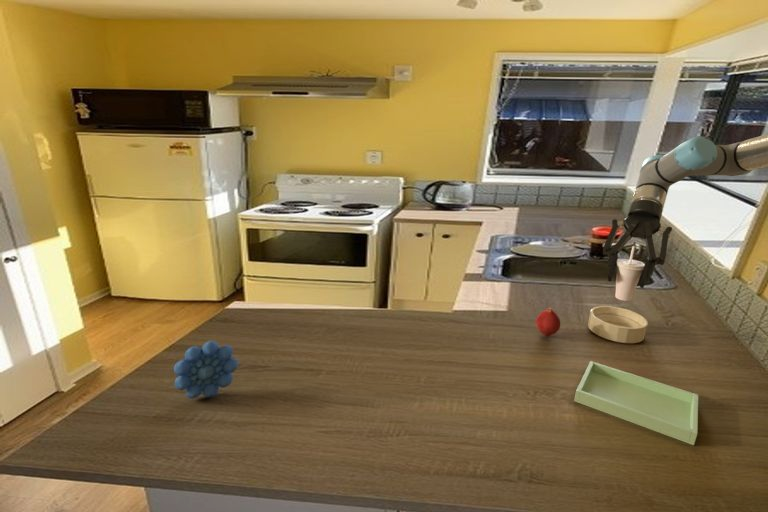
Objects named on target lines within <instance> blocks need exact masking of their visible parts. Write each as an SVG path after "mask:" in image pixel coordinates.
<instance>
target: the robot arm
mask: <svg viewBox="0 0 768 512" xmlns="http://www.w3.org/2000/svg"><path fill="white" fill-rule="evenodd" d="M764 168H768V133H766V134H762V135H759V136H756V137H752V138H748V139H745V140H742V141H739V142H735V143H731V144H715V143H714V142H713V141H712V140H711V139H709V138H706V137H705V136H694V137H691V138H690V139H688V140H686V141H684V142H682V143H680V144H679V145H677V146H676V147H675V148H673V149H672V150H669V152H667V153H666V154H655V155H650V156H649V157H647V158H645V160H644V161H643V163H642V165H641V167H640V170H639V172H638V173H639V174H638V178H637V181H636V186H635V189H634V192H633V195H632V198H631V202H630V205H629V209H628V212H627V216H626V218H624V219H623V220H618V219H616V218H615V219H612V220H611V229H610V231H609V234H608V236H607V238H606V241H605V242H604V245H603V247H602V254H603V256H608V258H607V261H606V268H607V269H609V272H608V275H607V282H612V280H613V277H614V274H615V270H616V268H617V265H616V262H617V260H618V259H619V253H620V252H621V251H622V249H624V247H625V246H626V244H628V242H629V241H631V239H632V238H639V239H642V240H644V242H645V246H646V251H647V257H648V259H646V261H645V263H644V264H645V268H644V270H643V271H642V274H641V278H640V279H641V280H640V283H639V288H640V289H644V287H645V284H646V280H647V277H648V276H649V277H652V276H653V275H654V270H655V268H656V266H657V265H660V266H664V265H665V262H666V258H667V249H668V242H669V239H670V237H671V236H672V231H673V228H672V226H667V227H665V226H662V224H661V220H662V216H663V211H664V207H665V204H666V200H667V196H668V192H669V189H670V187H671V186H672V185H674V184H676V183H678V182H680V181H682V180H684V179H686V178H687V177H690V176H727V177H736V176H744V175H748V174H750V173H751V172H753V171H754V170H759V169H764ZM622 227H623V228H624V229H625V231H624V234H622V236H621V237H620V238H619V239H618V241H617V242H616V243H615V244H614V246H613V243H614V241H615V239H616V236H617V235H618V231H619V230H621V228H622ZM658 232H660V233H659V235H660V236H661V237H662V238H661V243H660V250H659V256H657V255H656V250H655V245H654V239H653V235H655V234H656V233H658ZM612 246H613V247H612Z"/></svg>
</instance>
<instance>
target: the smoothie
mask: <svg viewBox="0 0 768 512" xmlns="http://www.w3.org/2000/svg"><path fill="white" fill-rule="evenodd" d="M635 248H636V245H632V246H631V252H630V256H629V258H618V260H617V262H616V275H615V277H616V278H615V295H614V296H615V297H614V298H616V299H617V300H620V301H625V302H631V301H632V300H633V297H634V295H635V292H636V289H637V287H638V283H639V282H640V279H641V277H642V274H643V272H644V268H645V264H646V263H644V262H643V261H640V260H637V259H633V258H634V253H635Z"/></svg>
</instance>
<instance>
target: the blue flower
mask: <svg viewBox="0 0 768 512" xmlns="http://www.w3.org/2000/svg"><path fill="white" fill-rule="evenodd" d="M233 353H234V349H233V347H232V346H231V345H228V344H225V345H221V346H219V343H218V342H217V341H216V340H208V341H206V342H205V343H204V344H203V345H202V347H201V348H200V347H199V346H198V345H194V346H191V347H189V348H188V349H186V351H185V353H184V358H183V359H181V360H178V361H177V362H176V363H175V364H174V366H173V372H174V374H175V375H176V376H177V377H176V378H175V380H174V388H175V389H176V390H179V391H184V390H185V396H186V397H187V398H188V399H193V400H194V399H197V398H198V397H200V396H201V394H202V395H203V396H204V397H205V398H213V397H215V396H217V393H218V392H219V390H220V388H227V387H229V386H230V385H231V384H232V382H233V379H234V377H233V376H234V375H233V373H234V372H236V370H237V369H238V368H239V360H238V359H237V358H235V357H232V356H233Z"/></svg>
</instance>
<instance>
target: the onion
mask: <svg viewBox="0 0 768 512" xmlns="http://www.w3.org/2000/svg"><path fill="white" fill-rule="evenodd" d="M535 327H536V330H538V331H539V332H540V334H541V335H542V336H543V337H547V338H548V337H550V336H554V335H555V334H556V333H557V332H558V331H559V330H560V328H561V320H560V317H559V315H558V314H557V313H556V312H555V311H554V309H552V308H551V307H548V308H546V310H543V311H541V312H540V313H539V314H538V316H537V317H536V320H535Z"/></svg>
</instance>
